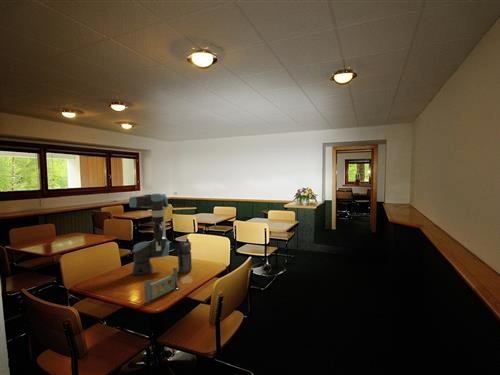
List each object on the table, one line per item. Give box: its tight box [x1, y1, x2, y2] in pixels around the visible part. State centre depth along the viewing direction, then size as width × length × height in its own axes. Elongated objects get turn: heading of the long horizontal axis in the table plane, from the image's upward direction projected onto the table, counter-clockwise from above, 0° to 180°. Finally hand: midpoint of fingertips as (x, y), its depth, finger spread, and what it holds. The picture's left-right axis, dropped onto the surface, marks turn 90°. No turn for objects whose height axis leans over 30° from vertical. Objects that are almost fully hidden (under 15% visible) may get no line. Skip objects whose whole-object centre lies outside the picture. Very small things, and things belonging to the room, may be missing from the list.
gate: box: [150, 274, 175, 301], centre depth 156 cm, size 17×3×9 cm, turn 148°
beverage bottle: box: [177, 238, 193, 274], centre depth 194 cm, size 10×13×25 cm
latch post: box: [142, 279, 152, 304], centre depth 147 cm, size 3×3×13 cm
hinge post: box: [171, 266, 181, 292], centre depth 164 cm, size 6×6×15 cm
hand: (158, 250), depth 170 cm, fingers closed
